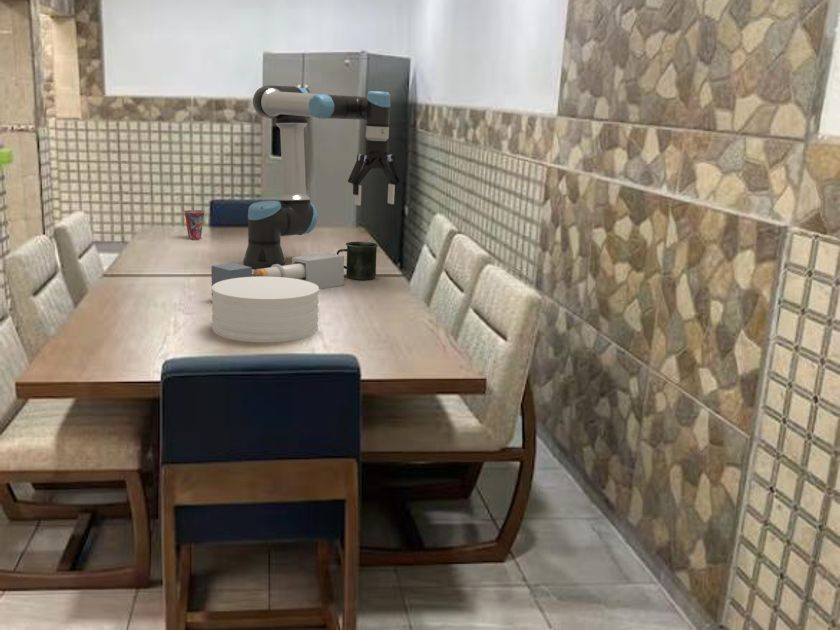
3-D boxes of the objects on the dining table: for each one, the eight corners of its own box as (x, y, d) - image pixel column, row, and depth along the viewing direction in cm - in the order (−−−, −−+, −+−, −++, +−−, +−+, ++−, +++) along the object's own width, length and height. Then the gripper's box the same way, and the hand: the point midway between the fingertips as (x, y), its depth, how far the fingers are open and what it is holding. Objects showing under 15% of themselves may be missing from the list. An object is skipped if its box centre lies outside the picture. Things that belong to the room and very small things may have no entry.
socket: (233, 296, 260) (233, 262, 258) (251, 301, 254) (251, 267, 252) (211, 299, 254) (211, 265, 252) (230, 305, 249) (229, 270, 246)
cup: (202, 241, 356) (201, 212, 353) (182, 240, 356) (181, 211, 353) (207, 237, 365) (207, 210, 362) (188, 236, 365) (187, 209, 362)
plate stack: (223, 346, 208) (222, 301, 205) (203, 318, 233) (203, 278, 230) (331, 339, 219) (332, 296, 216) (302, 313, 244) (302, 274, 241)
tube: (326, 274, 287) (327, 255, 285) (340, 277, 283) (340, 258, 281) (251, 285, 263) (251, 265, 262) (264, 289, 259) (265, 268, 257)
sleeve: (327, 281, 289) (328, 252, 286) (343, 285, 284) (344, 255, 281) (291, 287, 277) (292, 257, 274) (307, 291, 272) (308, 260, 269)
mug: (376, 281, 293) (377, 247, 290) (334, 279, 292) (335, 245, 289) (377, 275, 303) (378, 242, 300) (336, 273, 303) (337, 240, 300)
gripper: (351, 139, 266) (349, 206, 271) (414, 141, 281) (410, 204, 286) (338, 138, 271) (336, 203, 277) (400, 139, 287) (397, 201, 292)
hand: (374, 204), depth 281 cm, fingers open, 13 cm apart
